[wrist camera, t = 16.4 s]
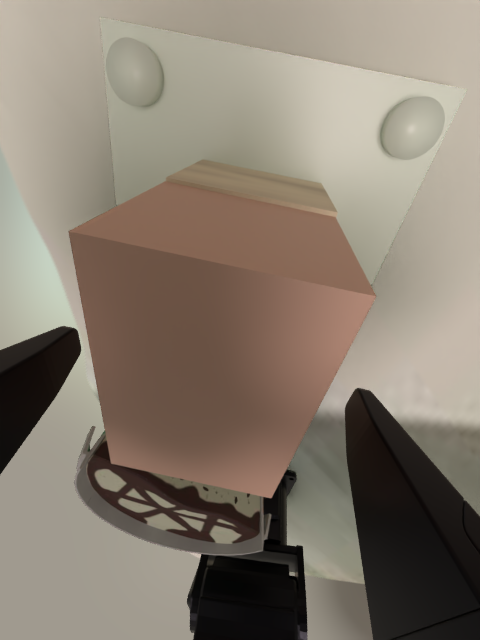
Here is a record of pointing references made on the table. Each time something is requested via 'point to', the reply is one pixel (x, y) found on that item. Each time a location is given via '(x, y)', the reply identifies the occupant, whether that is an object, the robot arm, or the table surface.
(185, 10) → the table surface
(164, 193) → the terracotta brick
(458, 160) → the table surface
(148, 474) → the food container
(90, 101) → the table surface
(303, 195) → the birch brick
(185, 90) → the build plate
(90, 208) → the table surface
